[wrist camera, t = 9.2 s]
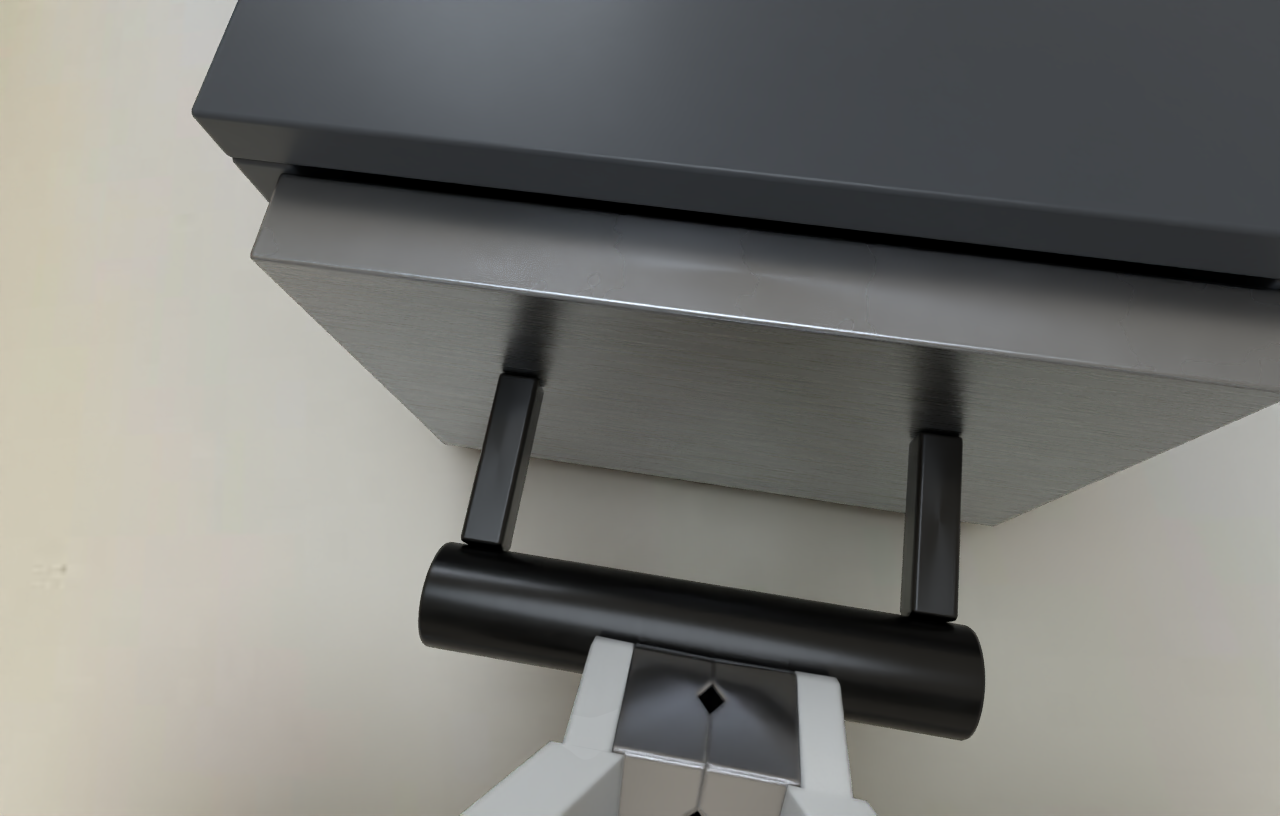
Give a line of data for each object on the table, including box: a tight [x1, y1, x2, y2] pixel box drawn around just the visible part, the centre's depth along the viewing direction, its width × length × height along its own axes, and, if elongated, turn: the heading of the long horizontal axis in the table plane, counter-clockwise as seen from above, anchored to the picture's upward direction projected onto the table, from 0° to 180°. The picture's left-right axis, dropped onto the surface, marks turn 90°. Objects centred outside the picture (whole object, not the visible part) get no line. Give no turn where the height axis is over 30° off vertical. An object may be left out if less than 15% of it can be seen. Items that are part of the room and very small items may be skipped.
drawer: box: [251, 173, 1280, 741], centre depth 13 cm, size 17×11×8 cm, turn 171°
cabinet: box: [192, 0, 1280, 290], centre depth 15 cm, size 15×13×10 cm
